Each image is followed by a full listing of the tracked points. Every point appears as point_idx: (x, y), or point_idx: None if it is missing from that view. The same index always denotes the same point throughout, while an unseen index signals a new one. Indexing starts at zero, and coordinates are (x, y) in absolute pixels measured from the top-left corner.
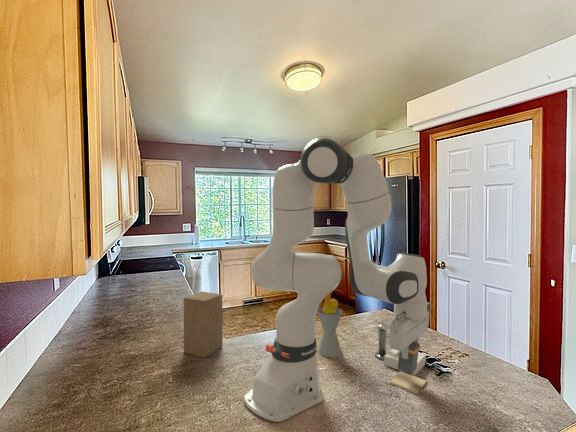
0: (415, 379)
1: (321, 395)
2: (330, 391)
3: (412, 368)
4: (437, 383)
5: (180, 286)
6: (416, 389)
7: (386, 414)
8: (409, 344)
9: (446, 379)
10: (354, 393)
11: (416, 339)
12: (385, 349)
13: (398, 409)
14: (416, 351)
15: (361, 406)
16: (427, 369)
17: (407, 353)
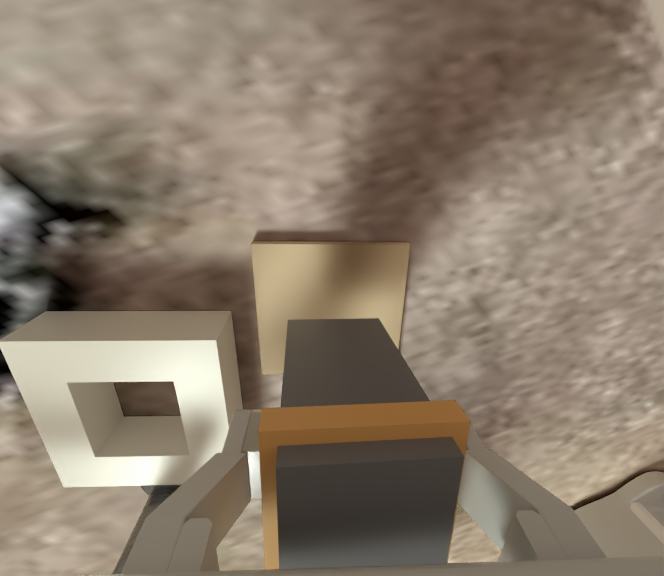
0: (285, 293)
1: (654, 489)
2: (576, 479)
3: (375, 335)
4: (215, 189)
5: None
6: (383, 256)
7: (644, 288)
8: (645, 572)
9: (120, 157)
10: (549, 426)
11: (213, 538)
12: (159, 504)
13: (585, 263)
14: (412, 414)
15: (626, 376)
16: (103, 283)
17: (494, 453)
